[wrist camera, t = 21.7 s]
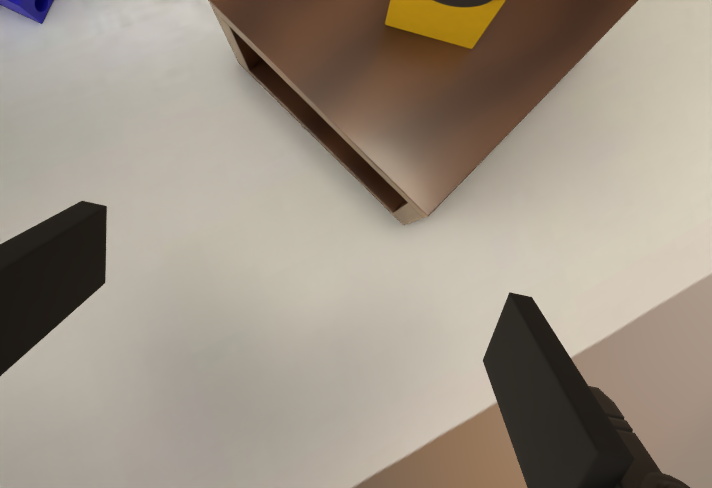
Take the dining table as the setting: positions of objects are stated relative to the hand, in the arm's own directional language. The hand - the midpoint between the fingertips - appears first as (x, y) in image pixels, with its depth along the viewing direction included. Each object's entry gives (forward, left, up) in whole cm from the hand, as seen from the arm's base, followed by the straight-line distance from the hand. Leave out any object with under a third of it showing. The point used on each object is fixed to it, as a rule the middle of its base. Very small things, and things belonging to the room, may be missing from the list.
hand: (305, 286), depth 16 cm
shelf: (-7, +19, -26) cm, 33 cm away
